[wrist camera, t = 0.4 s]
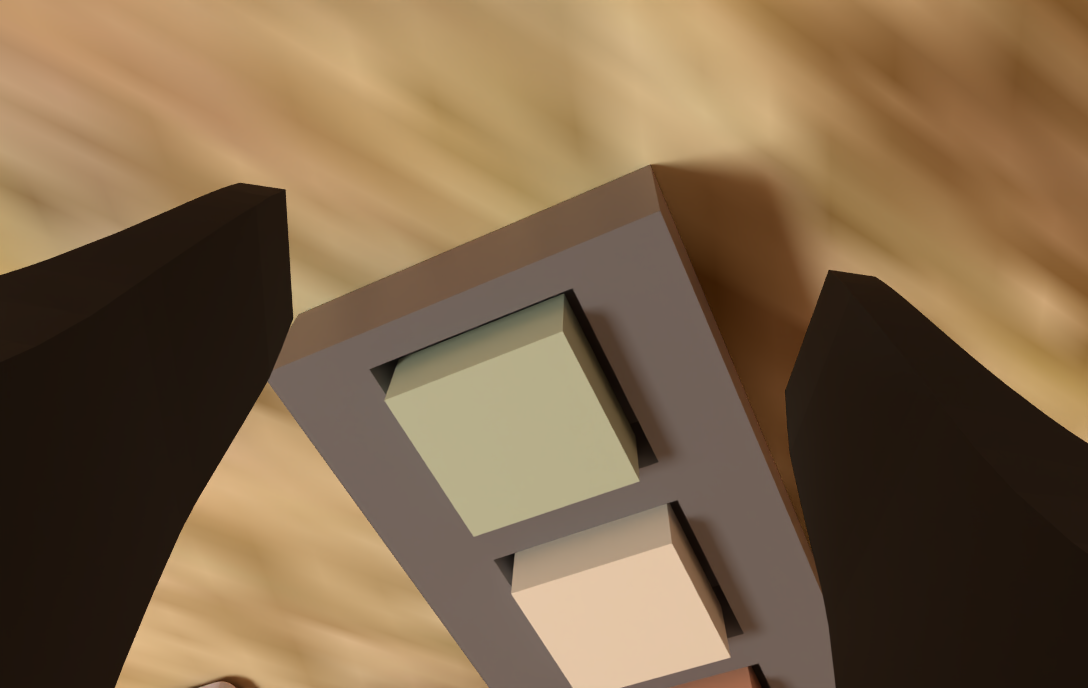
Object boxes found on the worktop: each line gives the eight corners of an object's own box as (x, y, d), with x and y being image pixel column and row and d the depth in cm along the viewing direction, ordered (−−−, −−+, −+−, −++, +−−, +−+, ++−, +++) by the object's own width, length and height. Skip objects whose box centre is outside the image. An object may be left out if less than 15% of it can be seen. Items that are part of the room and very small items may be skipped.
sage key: (480, 489, 23) (473, 536, 22) (398, 359, 21) (384, 400, 20) (635, 435, 22) (640, 481, 20) (563, 293, 20) (562, 331, 19)
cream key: (579, 647, 26) (580, 699, 24) (515, 544, 24) (510, 593, 22) (721, 606, 25) (731, 657, 23) (665, 495, 23) (672, 543, 21)
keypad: (595, 756, 32) (597, 837, 29) (298, 314, 23) (262, 374, 21) (867, 686, 30) (895, 768, 27) (650, 164, 21) (660, 211, 18)
